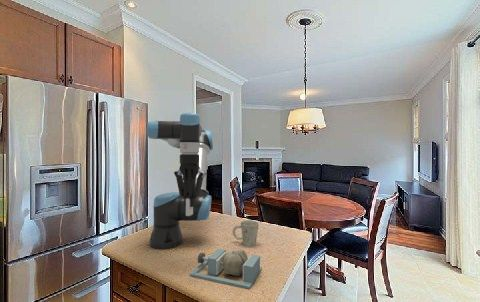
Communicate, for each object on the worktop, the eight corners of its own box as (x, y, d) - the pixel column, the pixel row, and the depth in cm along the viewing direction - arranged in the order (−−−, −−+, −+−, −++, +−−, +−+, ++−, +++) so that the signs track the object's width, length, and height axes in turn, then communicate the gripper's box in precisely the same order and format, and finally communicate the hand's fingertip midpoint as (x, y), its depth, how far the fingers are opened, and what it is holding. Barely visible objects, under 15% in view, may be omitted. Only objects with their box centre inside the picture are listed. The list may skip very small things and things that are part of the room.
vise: (189, 276, 86) (189, 259, 86) (208, 259, 99) (208, 244, 99) (249, 289, 78) (250, 270, 78) (261, 269, 91) (261, 253, 91)
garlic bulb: (245, 277, 90) (255, 251, 90) (238, 285, 82) (248, 257, 82) (223, 265, 93) (233, 240, 94) (214, 271, 85) (224, 244, 86)
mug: (257, 248, 110) (257, 226, 110) (230, 245, 113) (230, 224, 113) (259, 241, 119) (259, 220, 119) (234, 239, 121) (234, 219, 121)
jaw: (193, 271, 88) (193, 255, 88) (205, 260, 97) (205, 246, 97) (216, 276, 85) (216, 259, 85) (226, 265, 93) (227, 249, 93)
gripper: (169, 153, 93) (169, 215, 93) (199, 154, 88) (199, 219, 88) (181, 153, 100) (180, 211, 100) (209, 153, 95) (209, 214, 95)
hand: (189, 214), depth 94 cm, fingers closed
